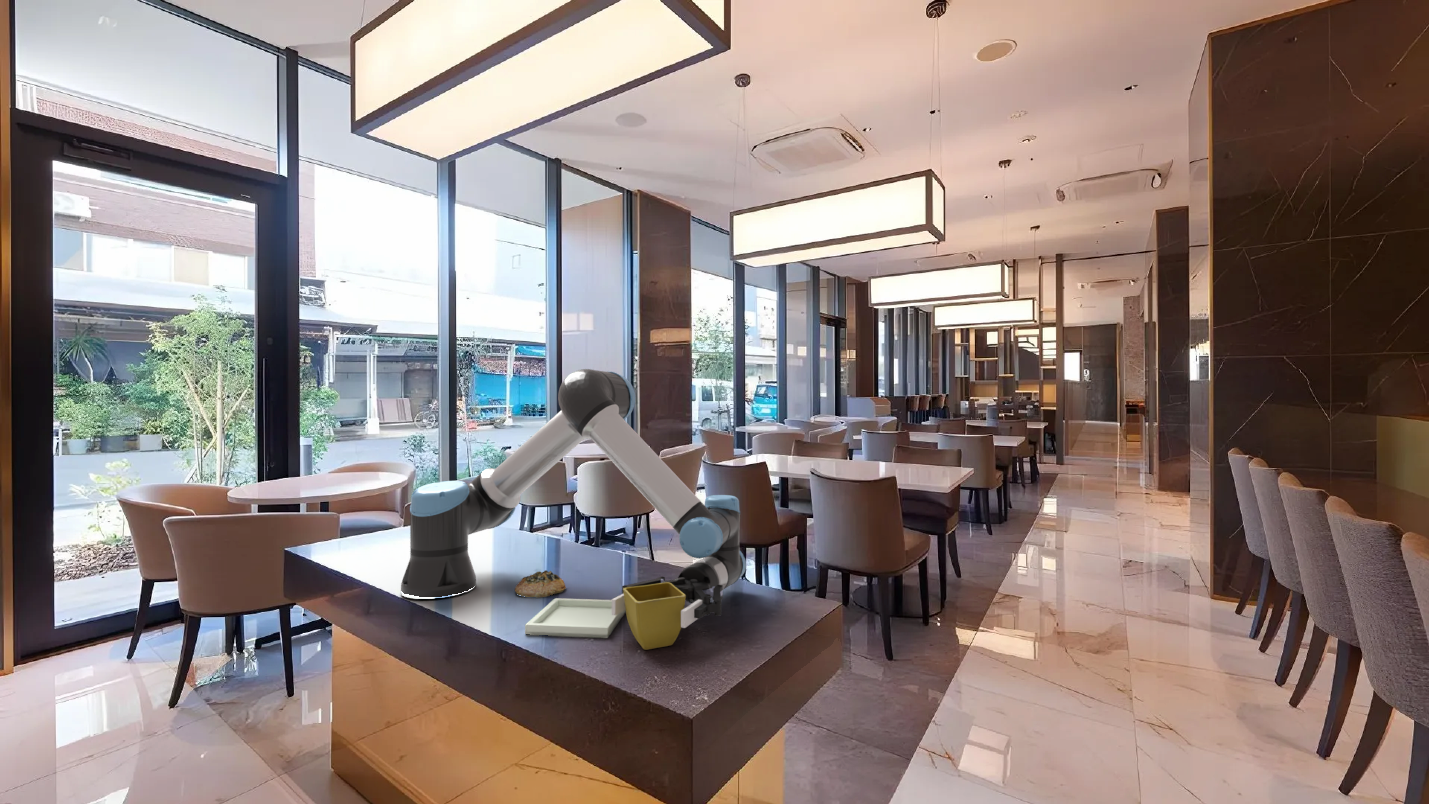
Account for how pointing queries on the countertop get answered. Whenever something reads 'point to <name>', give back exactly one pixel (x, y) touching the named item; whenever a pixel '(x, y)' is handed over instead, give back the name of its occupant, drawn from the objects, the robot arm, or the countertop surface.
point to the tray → (575, 619)
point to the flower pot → (654, 613)
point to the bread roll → (540, 585)
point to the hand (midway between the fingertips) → (647, 613)
